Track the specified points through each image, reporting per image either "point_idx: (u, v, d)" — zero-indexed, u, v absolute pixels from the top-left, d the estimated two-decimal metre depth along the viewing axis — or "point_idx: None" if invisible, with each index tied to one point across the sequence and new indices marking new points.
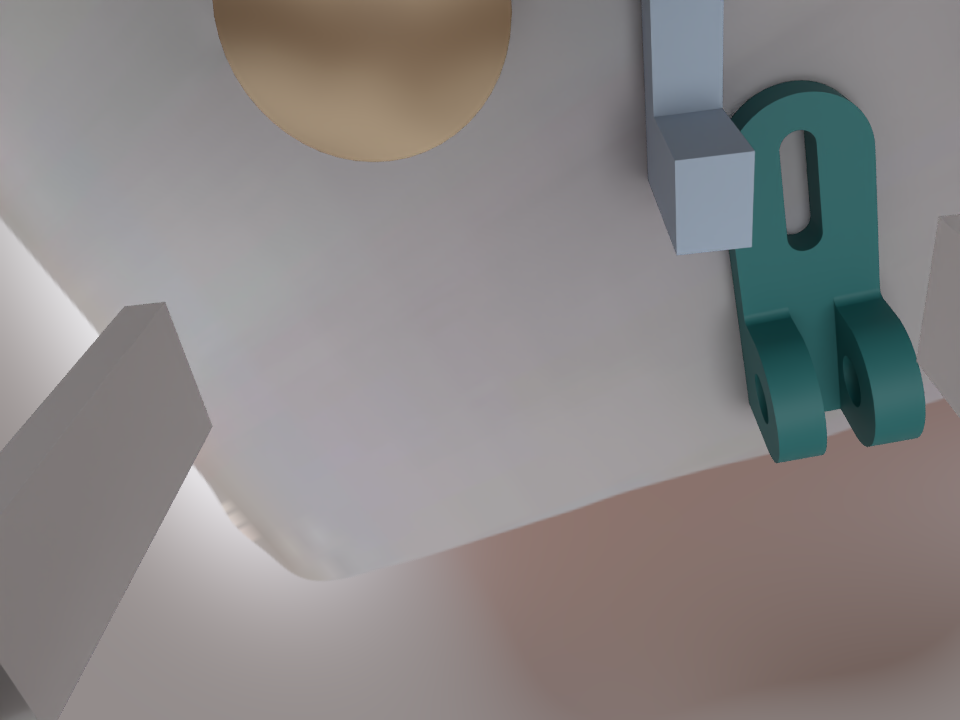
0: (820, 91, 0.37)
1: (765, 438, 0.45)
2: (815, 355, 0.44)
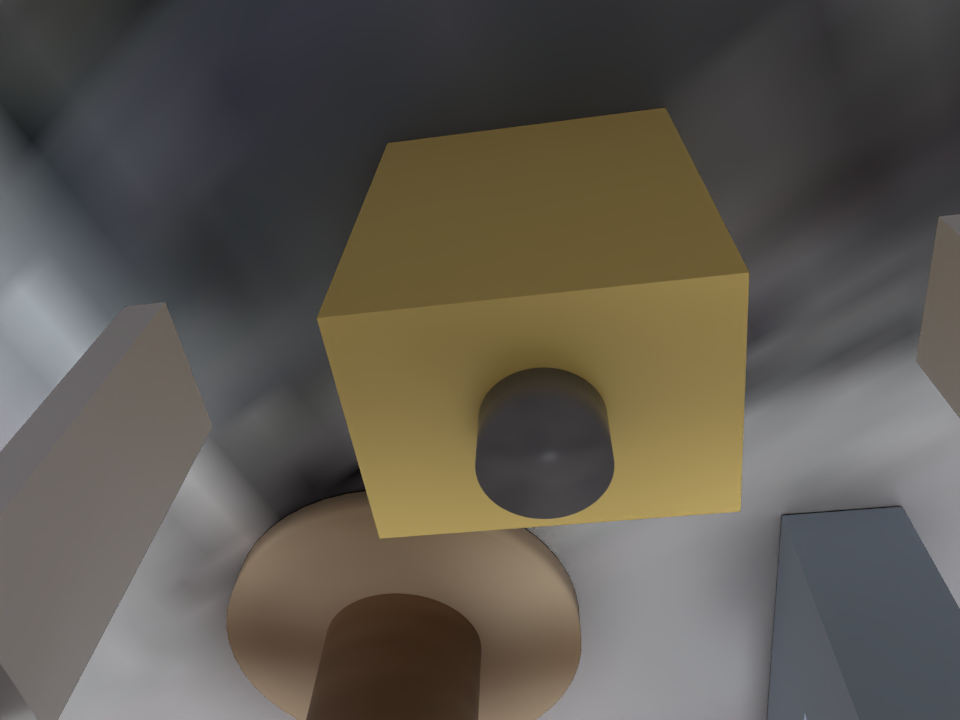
0: None
1: None
2: None
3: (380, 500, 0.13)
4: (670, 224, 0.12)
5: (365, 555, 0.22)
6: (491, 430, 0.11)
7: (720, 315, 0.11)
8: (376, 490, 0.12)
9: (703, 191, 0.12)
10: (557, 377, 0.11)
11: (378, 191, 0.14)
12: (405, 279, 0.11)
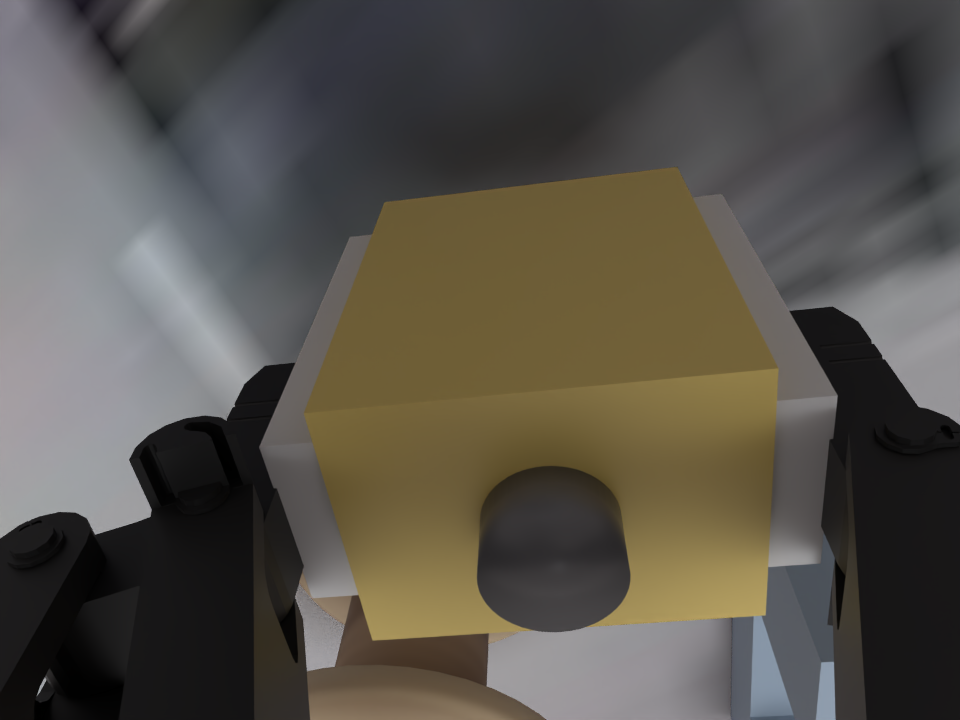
0: None
1: None
2: None
3: (373, 601, 0.12)
4: (688, 306, 0.11)
5: None
6: (493, 539, 0.10)
7: (746, 412, 0.10)
8: (369, 591, 0.11)
9: (722, 267, 0.12)
10: (567, 478, 0.10)
11: (372, 259, 0.14)
12: (400, 367, 0.10)
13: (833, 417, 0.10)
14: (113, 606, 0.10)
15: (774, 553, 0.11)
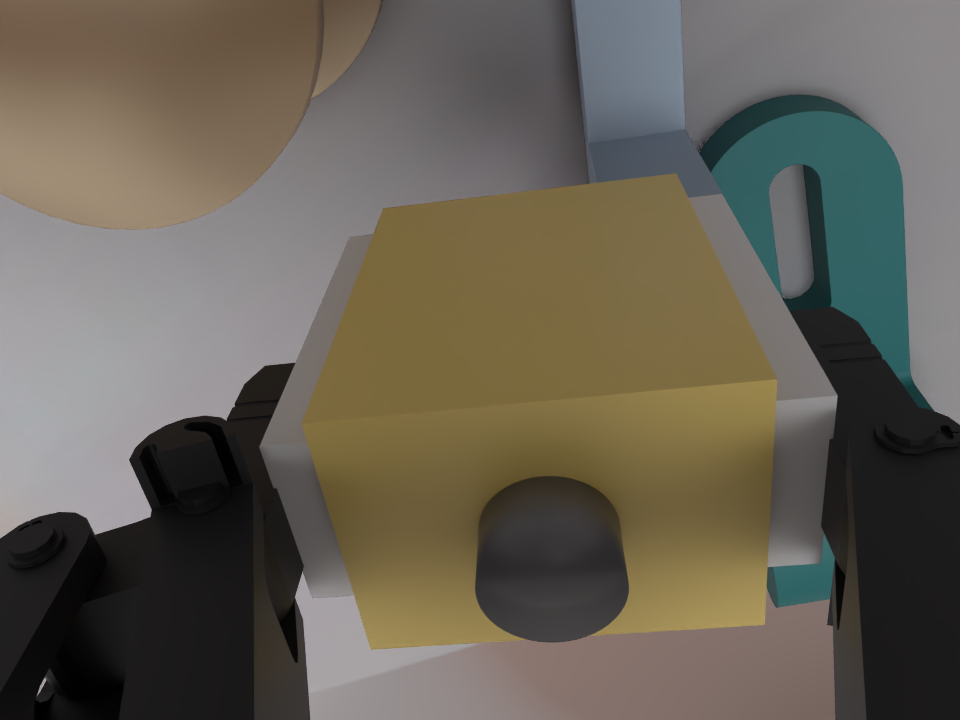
0: (824, 110, 0.27)
1: None
2: None
3: (371, 610, 0.12)
4: (687, 316, 0.11)
5: None
6: (493, 551, 0.10)
7: (745, 423, 0.10)
8: (367, 600, 0.11)
9: (721, 275, 0.12)
10: (565, 488, 0.10)
11: (372, 266, 0.14)
12: (399, 377, 0.10)
13: (833, 417, 0.10)
14: (113, 606, 0.10)
15: (774, 552, 0.11)
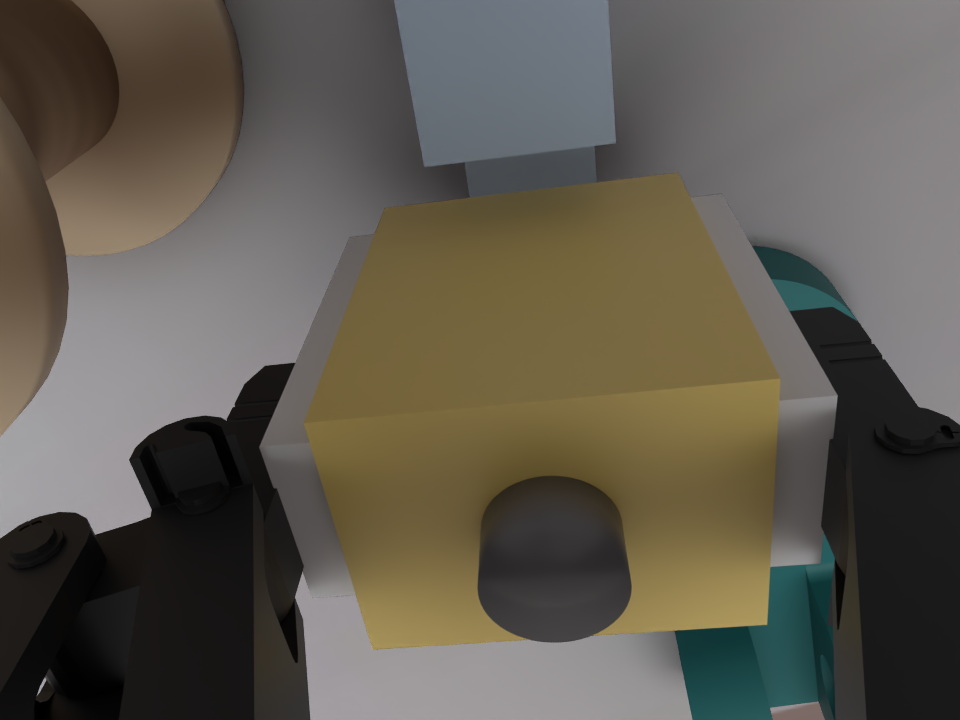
0: (778, 276, 0.22)
1: None
2: (778, 637, 0.29)
3: (373, 610, 0.11)
4: (690, 314, 0.11)
5: None
6: (494, 550, 0.10)
7: (748, 422, 0.10)
8: (369, 600, 0.11)
9: (724, 275, 0.12)
10: (568, 488, 0.10)
11: (373, 265, 0.14)
12: (401, 375, 0.10)
13: (833, 417, 0.10)
14: (113, 606, 0.10)
15: (773, 552, 0.11)
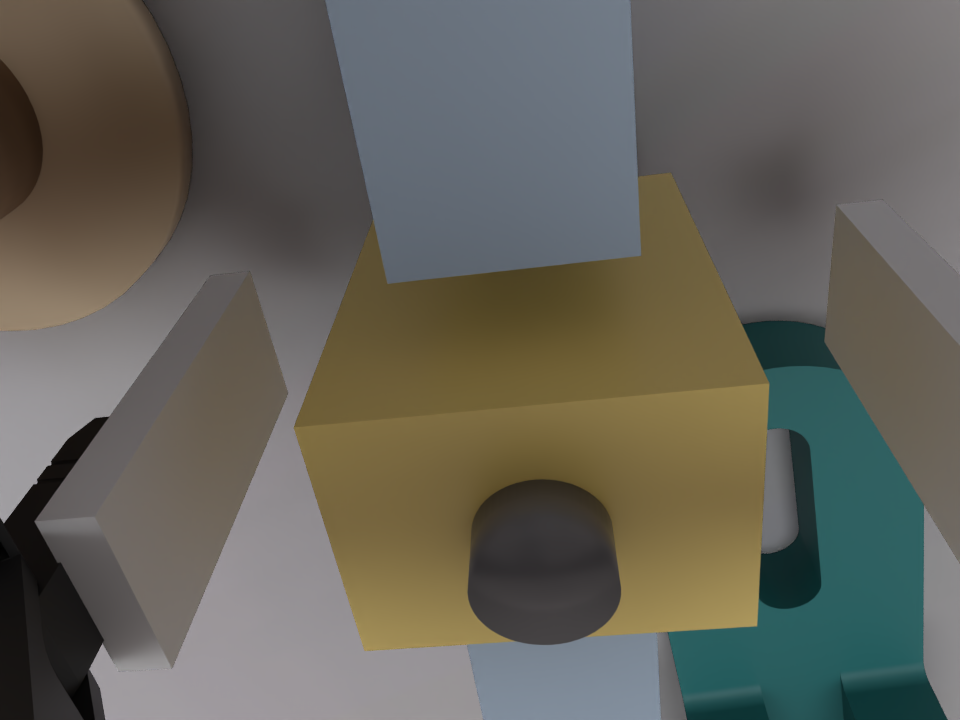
0: (818, 362, 0.19)
1: None
2: None
3: (365, 612, 0.12)
4: (680, 318, 0.11)
5: None
6: (484, 554, 0.10)
7: (737, 427, 0.10)
8: (360, 602, 0.11)
9: (715, 277, 0.12)
10: (558, 491, 0.10)
11: (365, 266, 0.14)
12: (391, 379, 0.10)
13: None
14: None
15: None
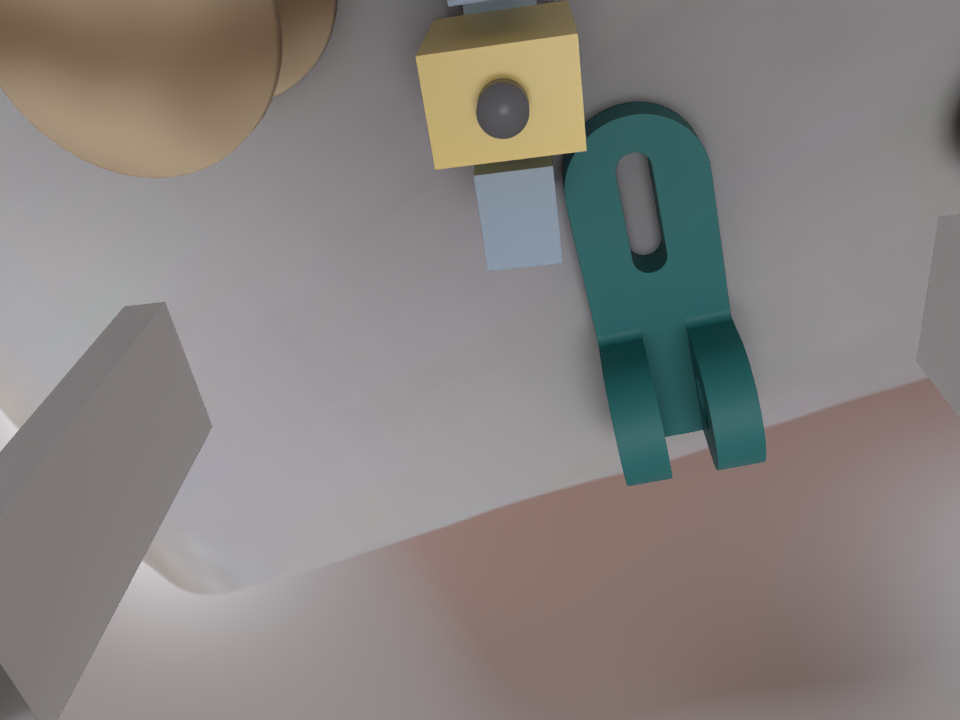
0: (651, 113, 0.37)
1: None
2: (672, 377, 0.44)
3: (436, 148, 0.30)
4: (554, 27, 0.29)
5: None
6: (482, 94, 0.28)
7: (569, 52, 0.28)
8: (435, 142, 0.30)
9: (571, 19, 0.30)
10: (508, 80, 0.28)
11: (432, 31, 0.32)
12: (448, 46, 0.29)
13: None
14: None
15: None
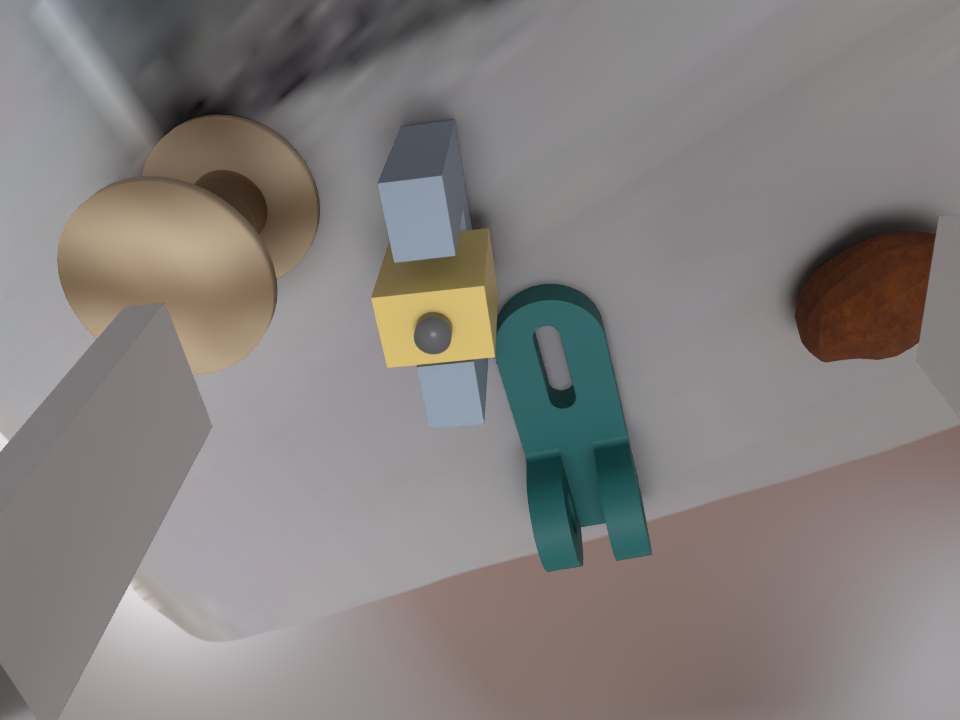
0: (557, 298, 0.49)
1: None
2: (585, 483, 0.56)
3: (387, 354, 0.42)
4: (471, 272, 0.41)
5: (203, 145, 0.46)
6: (417, 327, 0.40)
7: (478, 297, 0.40)
8: (386, 350, 0.42)
9: (484, 261, 0.42)
10: (436, 314, 0.40)
11: (387, 259, 0.44)
12: (395, 287, 0.41)
13: None
14: None
15: None
